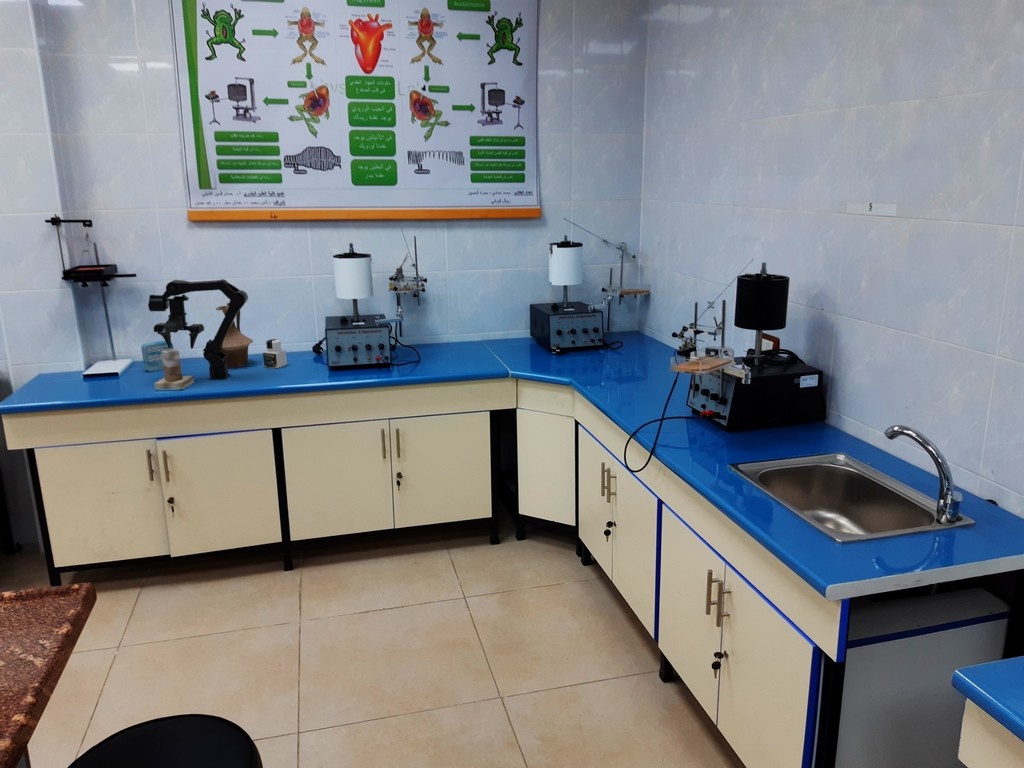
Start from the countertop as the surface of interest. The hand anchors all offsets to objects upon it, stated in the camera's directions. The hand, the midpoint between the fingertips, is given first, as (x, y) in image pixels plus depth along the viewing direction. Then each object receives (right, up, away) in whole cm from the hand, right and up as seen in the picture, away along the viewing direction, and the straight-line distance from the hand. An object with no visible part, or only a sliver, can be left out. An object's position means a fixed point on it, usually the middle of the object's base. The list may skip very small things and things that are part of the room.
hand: (181, 348), depth 318 cm
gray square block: (+1, -13, -8) cm, 16 cm away
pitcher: (+14, -6, +26) cm, 30 cm away
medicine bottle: (+32, -7, +23) cm, 40 cm away
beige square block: (+1, -16, -8) cm, 18 cm away
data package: (-18, -8, +20) cm, 28 cm away
